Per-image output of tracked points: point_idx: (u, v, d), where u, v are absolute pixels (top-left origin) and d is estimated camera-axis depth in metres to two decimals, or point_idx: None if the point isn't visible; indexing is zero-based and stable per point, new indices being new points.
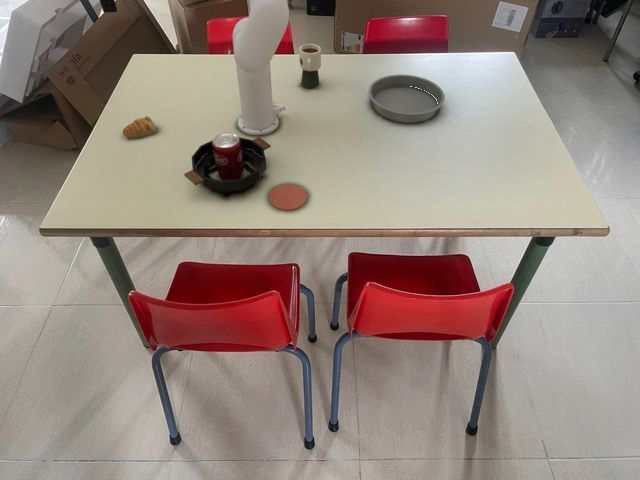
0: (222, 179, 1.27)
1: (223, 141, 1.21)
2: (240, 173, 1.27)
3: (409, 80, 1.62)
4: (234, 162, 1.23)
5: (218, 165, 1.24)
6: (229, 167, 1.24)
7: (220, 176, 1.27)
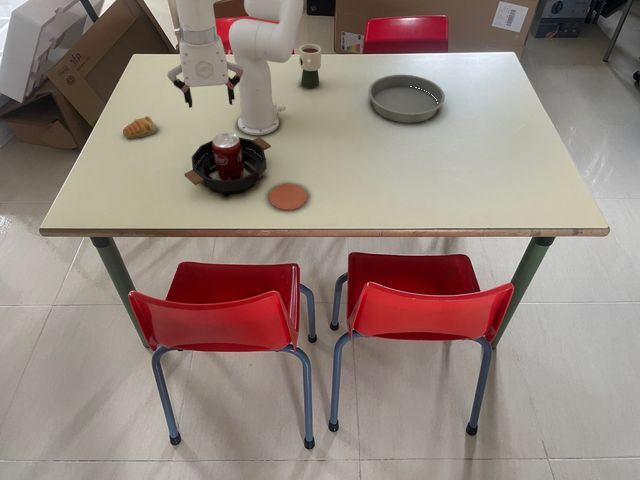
0: (222, 179, 1.27)
1: (223, 141, 1.21)
2: (240, 173, 1.27)
3: (409, 80, 1.62)
4: (234, 162, 1.23)
5: (218, 165, 1.24)
6: (229, 167, 1.24)
7: (220, 176, 1.27)
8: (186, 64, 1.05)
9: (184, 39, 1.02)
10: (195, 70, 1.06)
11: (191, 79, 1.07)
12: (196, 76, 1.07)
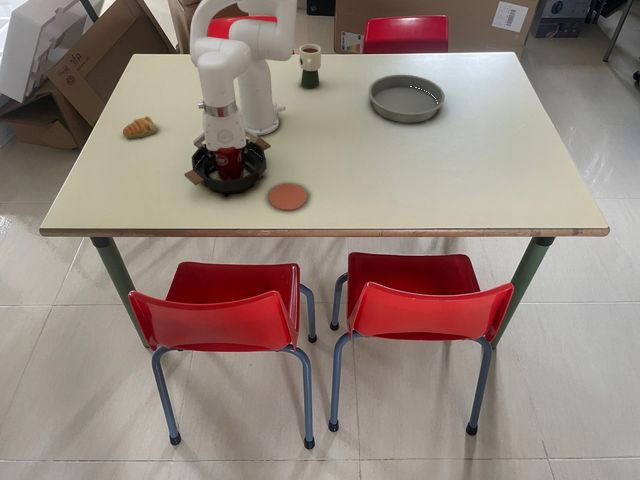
0: (222, 179, 1.27)
1: None
2: (240, 173, 1.27)
3: (409, 80, 1.62)
4: (235, 162, 1.23)
5: (218, 165, 1.24)
6: (229, 167, 1.24)
7: (220, 176, 1.27)
8: (208, 133, 1.16)
9: (207, 112, 1.13)
10: (216, 137, 1.17)
11: (213, 145, 1.19)
12: (217, 142, 1.18)
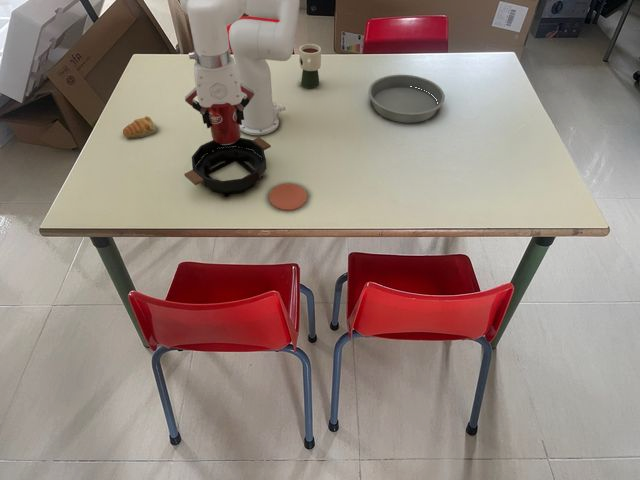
0: (217, 140, 1.19)
1: None
2: (236, 133, 1.18)
3: (409, 80, 1.62)
4: (230, 121, 1.15)
5: (212, 124, 1.16)
6: (223, 126, 1.15)
7: (214, 137, 1.18)
8: (201, 86, 1.07)
9: (199, 63, 1.04)
10: (209, 92, 1.08)
11: (205, 100, 1.10)
12: (210, 97, 1.09)
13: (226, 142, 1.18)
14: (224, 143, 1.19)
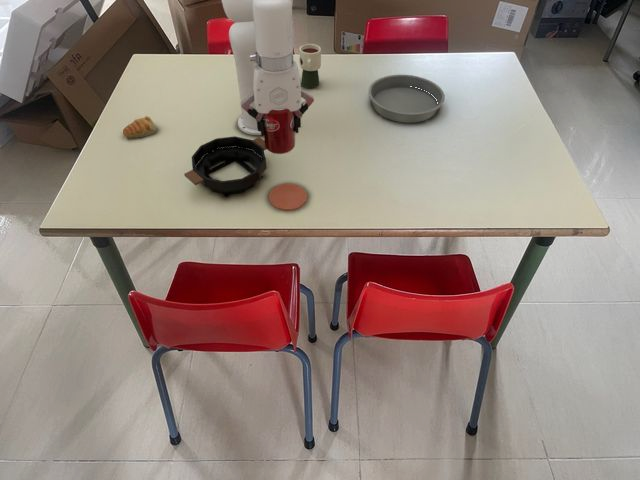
0: (271, 149, 1.10)
1: None
2: (291, 142, 1.10)
3: (409, 80, 1.62)
4: (287, 128, 1.07)
5: (267, 132, 1.08)
6: (280, 134, 1.07)
7: (268, 145, 1.10)
8: (260, 91, 0.99)
9: (260, 65, 0.96)
10: (269, 97, 1.01)
11: (264, 106, 1.02)
12: (269, 103, 1.02)
13: (280, 151, 1.10)
14: (279, 152, 1.11)
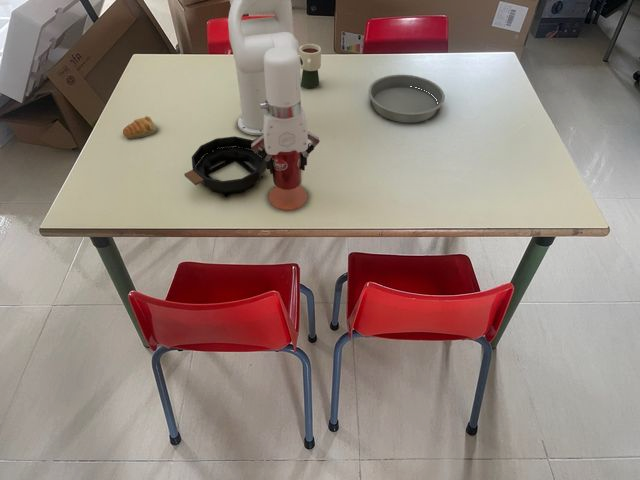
0: (279, 185, 1.18)
1: None
2: (298, 179, 1.18)
3: (409, 80, 1.62)
4: (294, 168, 1.14)
5: (276, 170, 1.15)
6: (288, 173, 1.14)
7: (277, 182, 1.18)
8: (270, 135, 1.07)
9: (270, 113, 1.03)
10: (278, 140, 1.08)
11: (273, 148, 1.09)
12: (278, 145, 1.09)
13: (288, 187, 1.18)
14: (286, 188, 1.18)
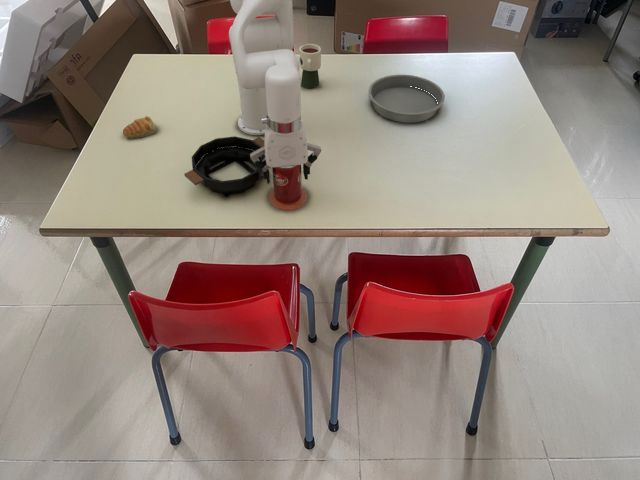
0: (279, 199, 1.21)
1: None
2: (298, 193, 1.21)
3: (409, 80, 1.62)
4: (295, 183, 1.17)
5: (277, 185, 1.18)
6: (288, 188, 1.18)
7: (278, 196, 1.21)
8: (271, 149, 1.10)
9: (271, 128, 1.06)
10: (278, 154, 1.11)
11: (273, 161, 1.12)
12: (278, 158, 1.12)
13: (288, 201, 1.21)
14: (287, 202, 1.21)
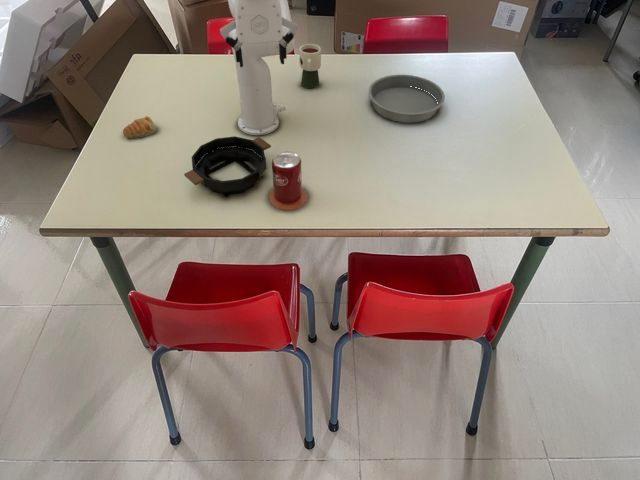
0: (279, 199, 1.21)
1: (284, 161, 1.15)
2: (298, 193, 1.21)
3: (409, 80, 1.62)
4: (295, 183, 1.17)
5: (277, 185, 1.18)
6: (288, 188, 1.18)
7: (278, 196, 1.21)
8: (241, 19, 1.01)
9: None
10: (250, 25, 1.02)
11: (245, 35, 1.04)
12: (250, 32, 1.03)
13: (288, 201, 1.21)
14: (287, 202, 1.21)
